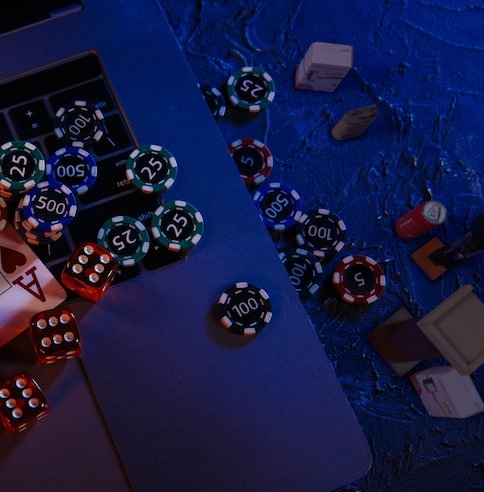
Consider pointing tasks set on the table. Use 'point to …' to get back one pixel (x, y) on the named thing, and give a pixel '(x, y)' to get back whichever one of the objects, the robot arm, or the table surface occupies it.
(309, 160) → the table surface
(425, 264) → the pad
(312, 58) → the ink box
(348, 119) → the tan tapered block
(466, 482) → the table surface
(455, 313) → the dock pad
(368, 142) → the table surface
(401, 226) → the beverage can
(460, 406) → the ink box
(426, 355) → the stand
